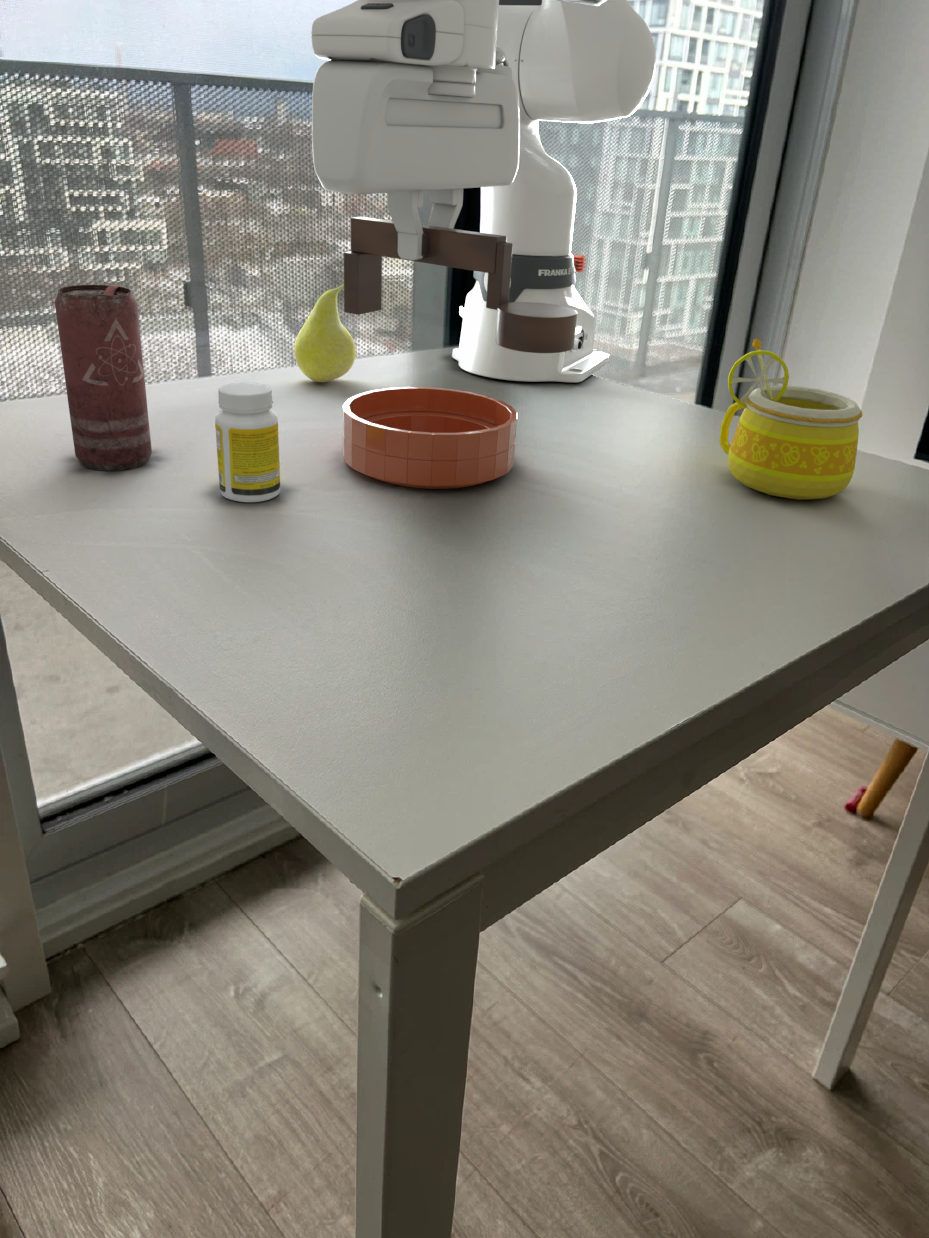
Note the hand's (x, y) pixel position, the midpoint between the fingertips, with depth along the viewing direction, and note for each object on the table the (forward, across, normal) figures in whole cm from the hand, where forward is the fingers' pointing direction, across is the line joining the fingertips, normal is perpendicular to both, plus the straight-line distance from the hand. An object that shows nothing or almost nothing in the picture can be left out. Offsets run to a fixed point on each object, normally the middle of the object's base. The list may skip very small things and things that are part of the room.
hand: (424, 257), depth 69 cm
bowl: (+18, -6, -3) cm, 20 cm away
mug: (+19, -24, +23) cm, 38 cm away
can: (+18, +11, -24) cm, 32 cm away
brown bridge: (+5, 0, +3) cm, 6 cm away
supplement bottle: (+18, +10, -10) cm, 23 cm away
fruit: (+19, -23, -29) cm, 42 cm away
